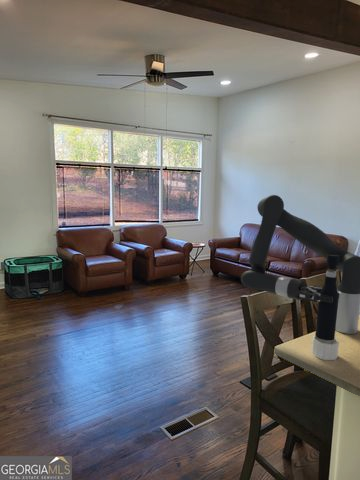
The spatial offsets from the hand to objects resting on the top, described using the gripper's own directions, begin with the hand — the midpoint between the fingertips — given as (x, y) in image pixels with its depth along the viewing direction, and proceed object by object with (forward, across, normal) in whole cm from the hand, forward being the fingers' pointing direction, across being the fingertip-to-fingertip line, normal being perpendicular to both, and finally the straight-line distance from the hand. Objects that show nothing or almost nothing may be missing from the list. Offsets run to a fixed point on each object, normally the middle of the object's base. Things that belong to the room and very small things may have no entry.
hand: (335, 298), depth 121 cm
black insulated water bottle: (-2, 0, +15) cm, 15 cm away
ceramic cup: (-2, 0, +22) cm, 22 cm away
